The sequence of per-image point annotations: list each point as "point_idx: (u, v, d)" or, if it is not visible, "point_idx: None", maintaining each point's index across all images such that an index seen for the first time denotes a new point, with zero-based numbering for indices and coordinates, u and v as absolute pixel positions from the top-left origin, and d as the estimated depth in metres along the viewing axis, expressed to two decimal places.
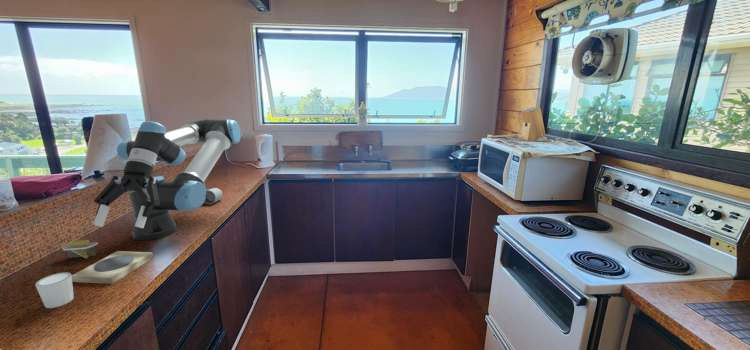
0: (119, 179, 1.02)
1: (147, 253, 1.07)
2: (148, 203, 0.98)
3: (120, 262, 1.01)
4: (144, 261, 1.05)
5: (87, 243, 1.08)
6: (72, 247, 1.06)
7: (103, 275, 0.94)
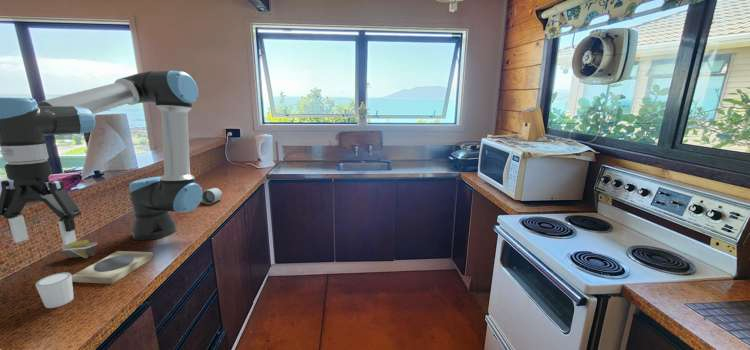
0: (11, 184, 0.78)
1: (147, 253, 1.07)
2: (65, 217, 0.78)
3: (120, 262, 1.01)
4: (144, 261, 1.05)
5: (87, 243, 1.08)
6: (72, 247, 1.06)
7: (103, 275, 0.94)
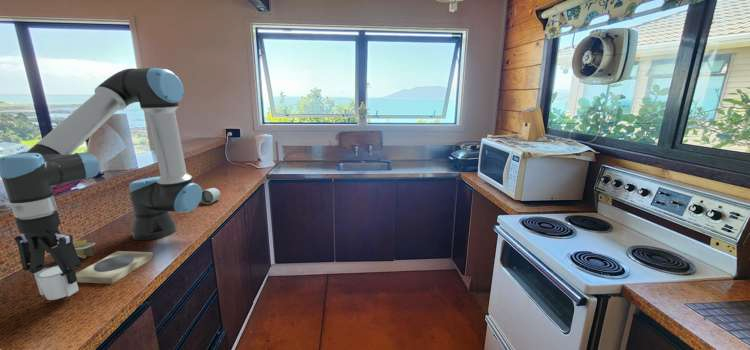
0: (24, 237, 0.81)
1: (147, 253, 1.07)
2: (67, 272, 0.82)
3: (120, 262, 1.01)
4: (144, 261, 1.05)
5: (84, 243, 1.07)
6: None
7: (103, 275, 0.94)
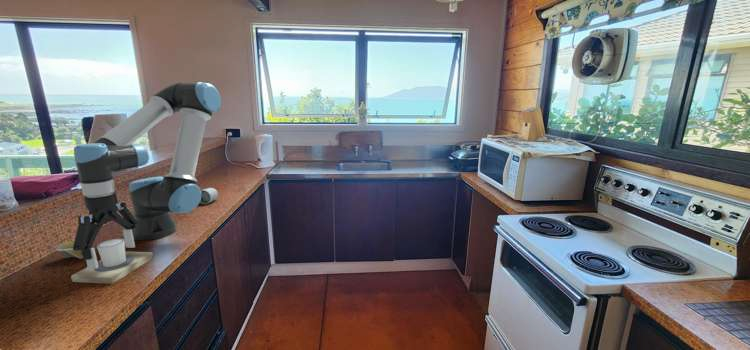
0: None
1: (147, 253, 1.07)
2: None
3: None
4: (144, 261, 1.05)
5: None
6: (66, 247, 1.06)
7: (103, 275, 0.94)
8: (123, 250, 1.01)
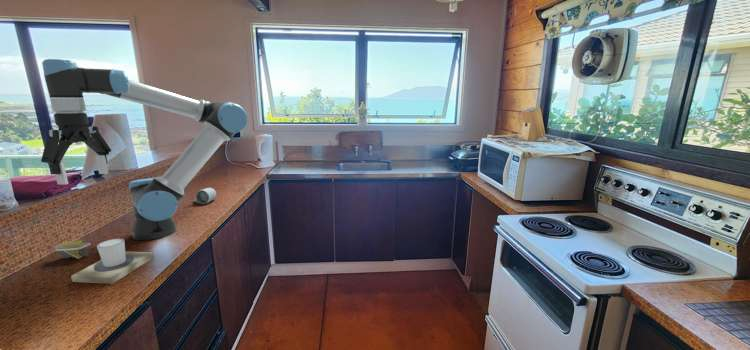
0: None
1: (147, 253, 1.07)
2: None
3: None
4: (144, 261, 1.05)
5: (80, 244, 1.07)
6: (64, 247, 1.06)
7: (103, 275, 0.94)
8: (123, 250, 1.01)
